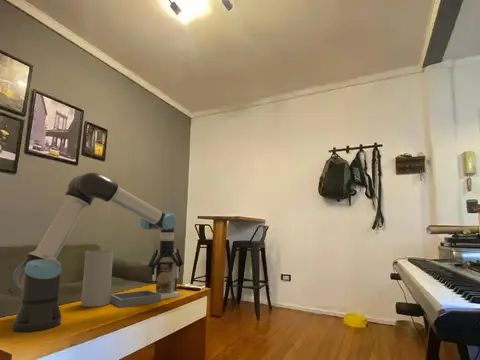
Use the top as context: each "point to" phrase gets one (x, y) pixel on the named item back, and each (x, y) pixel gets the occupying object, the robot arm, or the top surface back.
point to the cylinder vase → (97, 278)
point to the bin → (134, 298)
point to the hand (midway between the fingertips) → (165, 279)
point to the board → (169, 294)
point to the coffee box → (165, 277)
